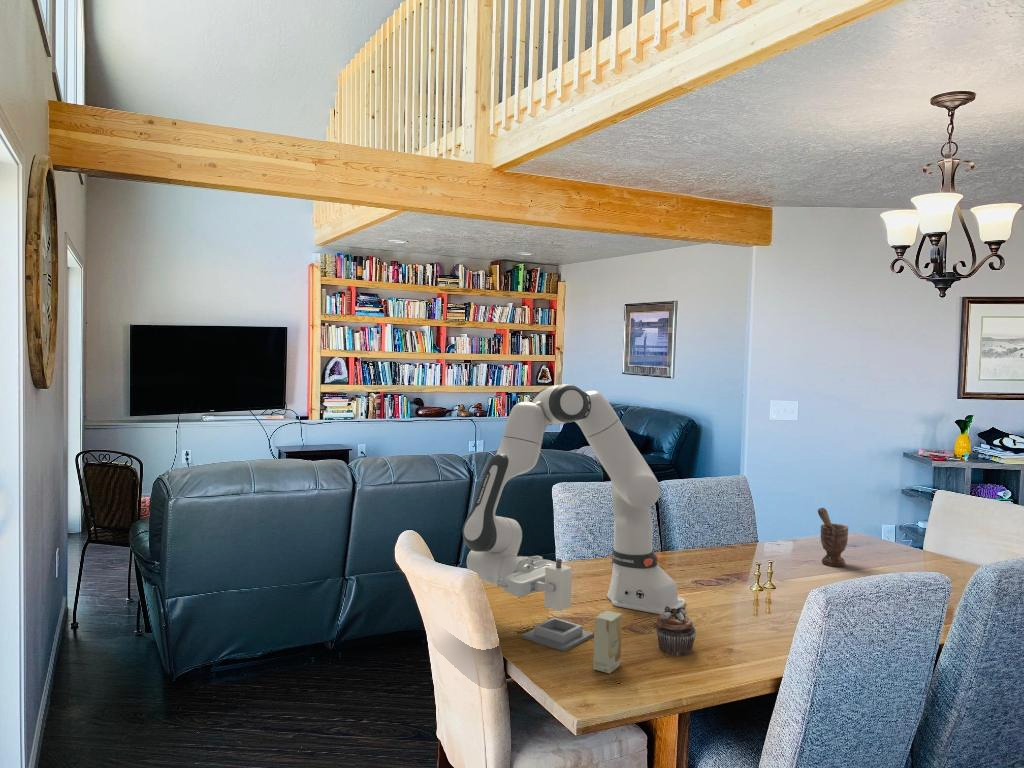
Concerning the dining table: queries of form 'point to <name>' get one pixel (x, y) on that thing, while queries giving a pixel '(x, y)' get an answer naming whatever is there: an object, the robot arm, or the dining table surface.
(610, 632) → the skincare box
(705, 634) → the dining table surface
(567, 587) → the plug
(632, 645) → the dining table surface
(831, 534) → the mortar and pestle
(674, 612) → the cupcake
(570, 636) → the socket plate
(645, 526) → the robot arm
